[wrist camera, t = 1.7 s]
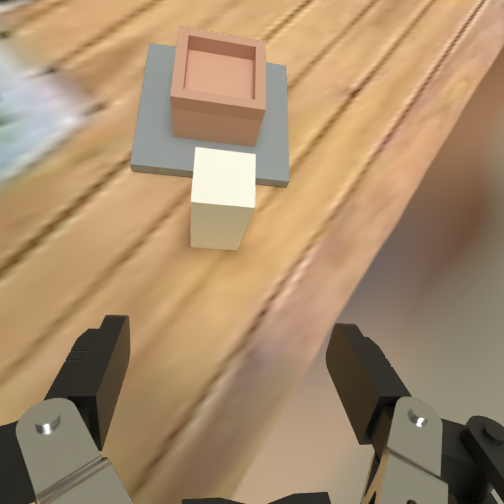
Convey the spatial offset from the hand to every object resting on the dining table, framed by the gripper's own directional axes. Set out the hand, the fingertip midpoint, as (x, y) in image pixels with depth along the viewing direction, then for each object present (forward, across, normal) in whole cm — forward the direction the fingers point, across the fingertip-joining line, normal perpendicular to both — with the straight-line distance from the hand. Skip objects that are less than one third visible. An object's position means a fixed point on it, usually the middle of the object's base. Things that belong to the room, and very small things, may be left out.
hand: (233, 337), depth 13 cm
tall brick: (+20, 0, +4) cm, 21 cm away
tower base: (+30, +1, -6) cm, 30 cm away
